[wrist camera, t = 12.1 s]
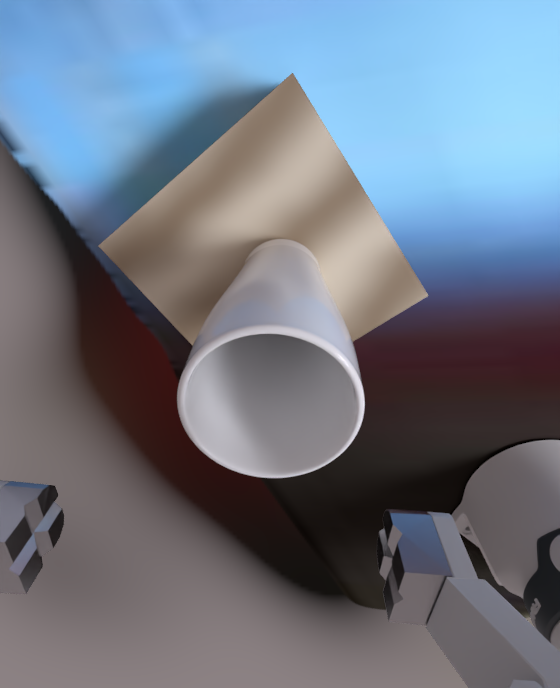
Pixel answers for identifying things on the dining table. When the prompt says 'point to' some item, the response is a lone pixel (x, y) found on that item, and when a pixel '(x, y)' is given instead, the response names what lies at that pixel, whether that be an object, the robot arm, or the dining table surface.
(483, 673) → the robot arm
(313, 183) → the birch block
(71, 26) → the dining table surface
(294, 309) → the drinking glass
